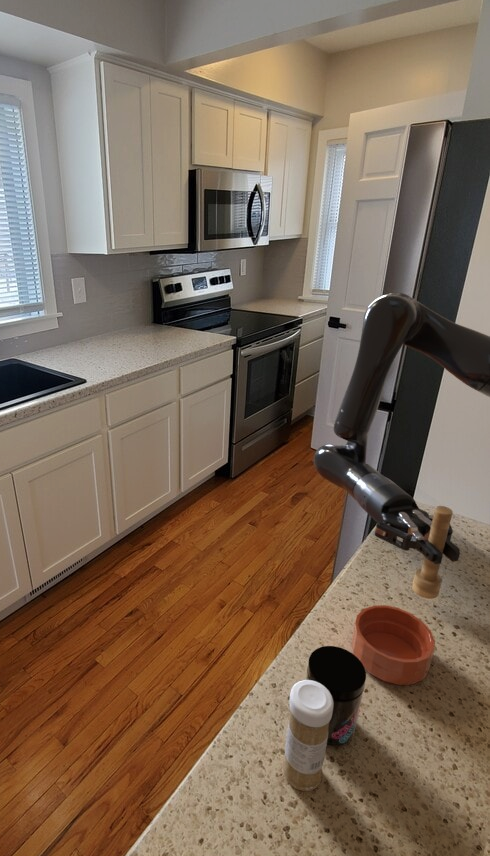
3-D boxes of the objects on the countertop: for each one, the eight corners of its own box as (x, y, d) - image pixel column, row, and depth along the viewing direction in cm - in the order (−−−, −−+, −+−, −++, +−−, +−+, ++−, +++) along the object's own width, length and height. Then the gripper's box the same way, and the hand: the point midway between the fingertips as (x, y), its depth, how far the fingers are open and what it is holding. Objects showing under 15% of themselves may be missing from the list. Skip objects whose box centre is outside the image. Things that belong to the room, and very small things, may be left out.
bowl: (398, 623, 79) (403, 600, 77) (444, 680, 69) (452, 655, 67) (338, 634, 77) (341, 610, 75) (376, 694, 67) (382, 668, 65)
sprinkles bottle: (308, 749, 61) (319, 673, 55) (328, 787, 57) (342, 709, 51) (275, 759, 60) (283, 683, 54) (293, 798, 56) (303, 720, 50)
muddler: (427, 580, 84) (446, 501, 77) (444, 596, 80) (464, 515, 74) (406, 584, 83) (423, 504, 77) (422, 600, 80) (441, 518, 73)
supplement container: (321, 758, 60) (331, 700, 55) (291, 710, 66) (297, 654, 61) (366, 739, 62) (379, 681, 57) (332, 694, 68) (341, 639, 63)
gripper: (351, 487, 88) (412, 545, 73) (420, 478, 90) (493, 532, 75) (346, 522, 91) (404, 584, 76) (413, 512, 94) (482, 570, 78)
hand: (448, 558), depth 75 cm, fingers closed on muddler, 2 cm apart
